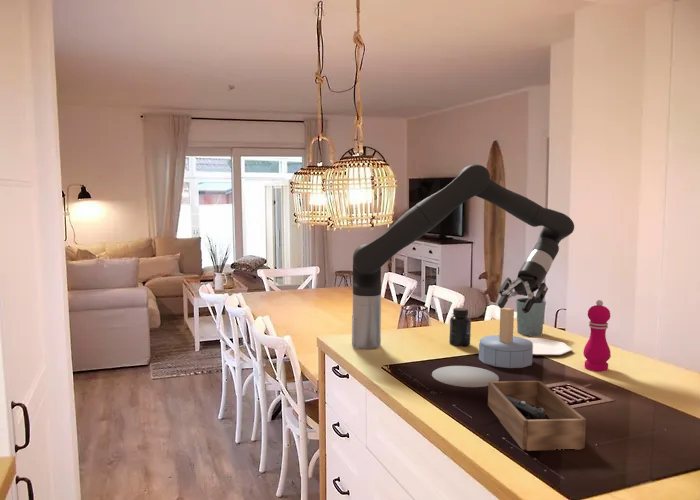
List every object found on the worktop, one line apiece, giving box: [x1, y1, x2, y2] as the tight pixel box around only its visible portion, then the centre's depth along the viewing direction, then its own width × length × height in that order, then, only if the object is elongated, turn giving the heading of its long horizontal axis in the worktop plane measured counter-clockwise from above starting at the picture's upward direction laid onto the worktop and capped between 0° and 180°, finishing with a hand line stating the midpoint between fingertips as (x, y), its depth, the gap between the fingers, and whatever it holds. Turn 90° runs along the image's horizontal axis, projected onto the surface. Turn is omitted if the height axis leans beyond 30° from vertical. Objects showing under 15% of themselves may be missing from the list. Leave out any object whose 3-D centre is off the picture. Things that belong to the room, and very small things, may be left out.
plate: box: [523, 337, 573, 357], centre depth 187 cm, size 20×20×2 cm
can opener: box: [504, 395, 547, 420], centre depth 128 cm, size 18×7×6 cm, turn 16°
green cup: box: [515, 297, 547, 337], centre depth 207 cm, size 10×10×12 cm
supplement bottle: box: [448, 307, 472, 348], centre depth 191 cm, size 7×7×12 cm
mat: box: [431, 365, 500, 388], centre depth 158 cm, size 18×18×1 cm
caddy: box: [487, 380, 587, 452], centre depth 126 cm, size 13×24×6 cm, turn 4°
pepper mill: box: [582, 299, 611, 372], centre depth 166 cm, size 7×7×20 cm
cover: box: [478, 306, 534, 369], centre depth 173 cm, size 15×15×16 cm
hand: (511, 309), depth 173 cm, fingers open, 8 cm apart
